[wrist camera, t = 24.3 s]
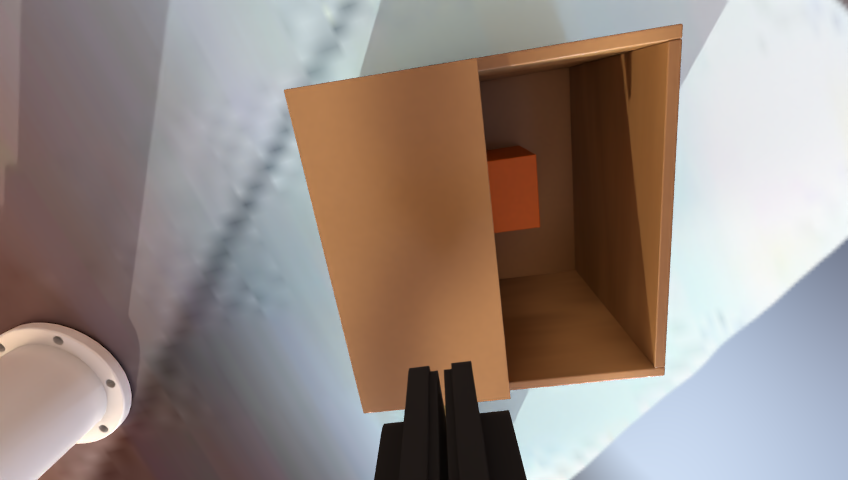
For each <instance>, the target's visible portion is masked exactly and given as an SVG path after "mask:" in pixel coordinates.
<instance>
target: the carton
mask: <svg viewBox="0 0 848 480" xmlns="http://www.w3.org/2000/svg"><path fill="white" fill-rule="evenodd" d="M682 29H683V25H682V24H676V25H670V26H664V27H658V28H652V29H646V30H640V31H634V32H628V33H622V34H616V35H610V36H604V37H598V38H592V39H586V40H580V41H574V42H568V43H562V44H557V45H551V46H545V47H539V48H533V49H527V50H521V51H515V52H509V53H503V54H497V55H491V56H485V57H479V58H477V63H478V73H479V83H480V93H481V103H482V113H483V124H484V134H485V144H486V150H492V149H499V148H506V147H513V146H521V147H523V148H525V149H527V150H529V151H530V152H532V153H534V154H536V161H537V178H538V195H539V212H540V227H539V228H531V229H523V230H516V231H508V232H500V233H494V236H495V246H496V256H497V266H498V276H499V286H500V297H501V307H502V317H503V327H504V337H505V347H506V358H507V368H508V378H509V388H510V390H517V389H528V388H538V387H549V386H559V385H569V384H580V383H590V382H601V381H611V380H622V379H632V378H642V377H653V376H663V375H664V372H665V353H666V334H667V315H668V296H669V277H670V257H671V238H672V219H673V200H674V181H675V162H676V143H677V124H678V105H679V86H680V67H681V48H682V39H680V38H682Z"/></svg>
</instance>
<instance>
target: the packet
mask: <svg viewBox="0 0 848 480" xmlns="http://www.w3.org/2000/svg"><path fill="white" fill-rule="evenodd" d="M486 154H487V164H488V175H489V185H490V195H491V205H492V215H493V225H494V233H500V232H508V231H516V230H523V229H531V228H539V227H540V212H539V195H538V178H537V161H536V154H534V153H532V152H530V151H529V150H527V149H525V148H523V147H521V146H513V147H506V148H499V149H492V150H486Z"/></svg>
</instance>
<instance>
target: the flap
mask: <svg viewBox="0 0 848 480" xmlns="http://www.w3.org/2000/svg"><path fill="white" fill-rule="evenodd" d="M284 93H285V97H286V101H287V105H288V109H289V113H290V117H291V121H292V125H293V129H294V133H295V137H296V141H297V145H298V149H299V153H300V157H301V161H302V165H303V170H304V174H305V178H306V182H307V186H308V190H309V194H310V198H311V202H312V206H313V210H314V214H315V218H316V222H317V226H318V230H319V234H320V238H321V242H322V246H323V250H324V255H325V259H326V263H327V267H328V271H329V275H330V279H331V283H332V287H333V291H334V295H335V299H336V303H337V307H338V311H339V315H340V319H341V323H342V327H343V331H344V335H345V340H346V344H347V348H348V352H349V356H350V360H351V364H352V368H353V372H354V376H355V380H356V384H357V388H358V392H359V396H360V400H361V404H362V408H363V412H364V413H372V412H382V411H392V410H402V409H405V404H406V392H407V381H408V371H409V368H415V367H423V366H429V367H430V371H438V374H439V380H440V386H441V392H442V398H443V404H444V405H445V386H444V370H446V369H451V363H457V362H465V361H471V363H472V370H473V376H474V383H475V389H476V396H477V402H483V401H493V400H503V399H510V388H509V378H508V368H507V358H506V347H505V337H504V327H503V317H502V307H501V297H500V286H499V276H498V266H497V256H496V246H495V236H494V225H493V215H492V205H491V195H490V185H489V175H488V164H487V154H486V144H485V134H484V124H483V113H482V103H481V93H480V83H479V73H478V63H477V58H472V59H466V60H460V61H454V62H448V63H442V64H436V65H430V66H424V67H418V68H412V69H406V70H400V71H394V72H388V73H382V74H376V75H370V76H364V77H358V78H352V79H346V80H340V81H334V82H328V83H322V84H316V85H310V86H304V87H298V88H292V89H286V90H284Z"/></svg>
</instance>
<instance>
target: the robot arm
mask: <svg viewBox="0 0 848 480" xmlns="http://www.w3.org/2000/svg"><path fill="white" fill-rule="evenodd" d="M444 386H445V408H446V415H445V409H444V404H443V398H442V392H441V386H440V380H439V374H438V371H430V367H429V366H423V367H415V368H409V371H408V381H407V392H406V404H405V415H404V422H397V423H388V424H384V425H383V428H382V432H381V439H380V445H379V452H378V458H377V465H376V471H375V478H374V480H527V479H526V475H525V471H524V467H523V463H522V459H521V455H520V451H519V447H518V443H517V440H516V436H515V432H514V428H513V424H512V420H511V416H510V413H509V410H507V411H497V412H488V413H479V409H478V402H477V396H476V389H475V383H474V376H473V370H472V363H471V361H465V362H457V363H451V369H446V370H444ZM131 398H132V394H131V389H130V384H129V381H128V379H127V376H126V374H125V372H124V370H123V369H122V367H121V366H120V364H119V363H118V361H117V360H116V359H115V358H114V357H113V356H112V355H111V353H110V352H109V351H107V350H106V349H105V348H104V347H103V346H102V345H100V344H99V343H98V342H96V341H95V340H93V339H92V338H90V337H88V336H87V335H85V334H83V333H81V332H78V331H76V330H74V329H71V328H68V327H65V326H61V325H58V324H51V323H28V324H24V325H19V326H17V327H15V328H13V329H11V330H9V331H7V332H5V333H3V334H1V335H0V480H37V479H38V478H39V477H40V476H41V475H43V474H44V473H45V472H46V471H47V470H48V469H49V468H50V467H51V466H52V465H53V464H54V463H55V462H56V461H57V460H59V459H60V458H61V457H62V456H63V455H64V454H65V453H66V452H67V451H68V450H69V449H70V448H71V447H72V446H73V445H75V444H76V443H88V442H94V441H97V440H100V439H102V438H105V437H106V436H108V435H109V434H111V433H112V432H114V431H115V430H116V429H117V428H118V427H119V426H120V425H121V424H122V423H123V421H124V420H125V418H126V417H127V415H128V413H129V410H130V407H131Z"/></svg>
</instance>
